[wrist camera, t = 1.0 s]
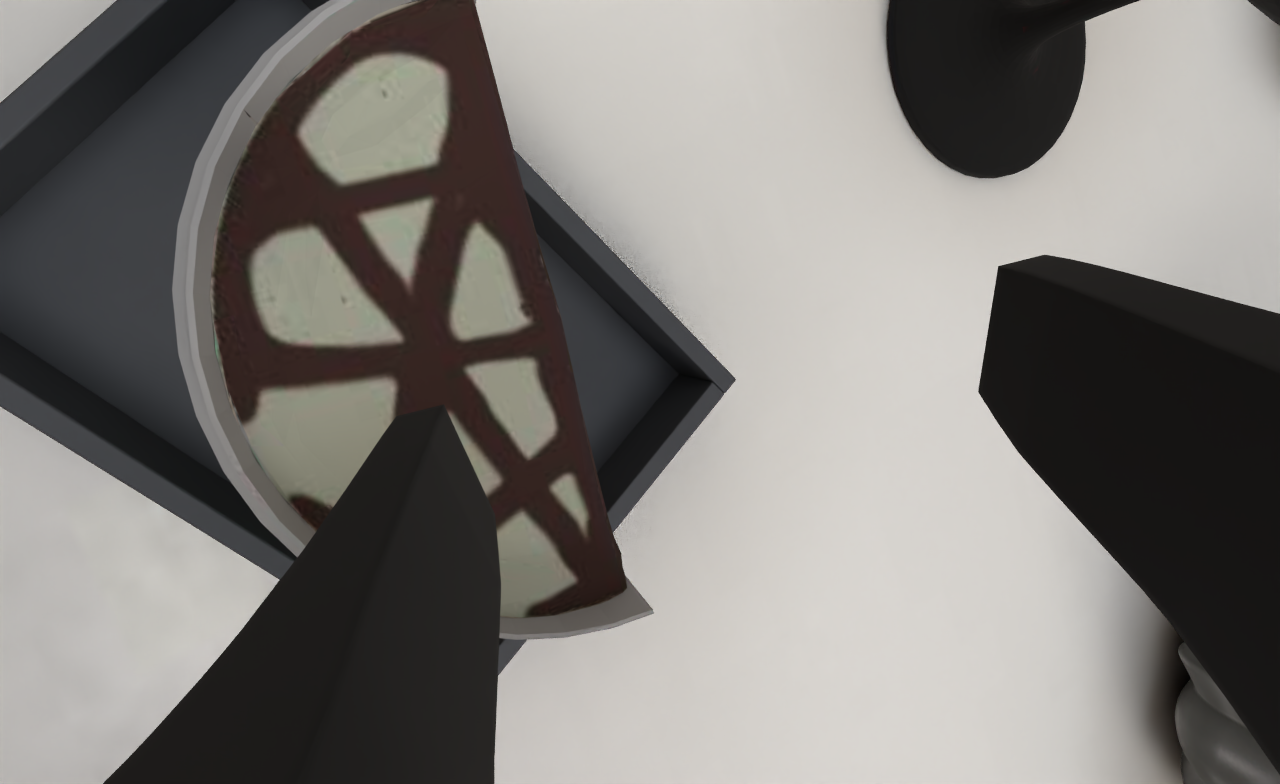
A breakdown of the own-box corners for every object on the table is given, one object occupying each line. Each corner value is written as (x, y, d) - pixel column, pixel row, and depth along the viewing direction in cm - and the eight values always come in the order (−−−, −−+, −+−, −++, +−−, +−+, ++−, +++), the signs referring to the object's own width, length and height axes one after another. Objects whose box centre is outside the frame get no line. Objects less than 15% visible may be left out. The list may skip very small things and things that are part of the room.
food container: (175, 133, 17) (-40, -63, 8) (420, 97, 19) (476, -92, 10) (334, 569, 20) (311, 800, 11) (534, 497, 22) (660, 638, 13)
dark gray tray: (463, 657, 22) (476, 702, 19) (-115, 284, 16) (-206, 281, 13) (697, 371, 24) (737, 379, 21) (267, -62, 18) (252, -122, 15)
